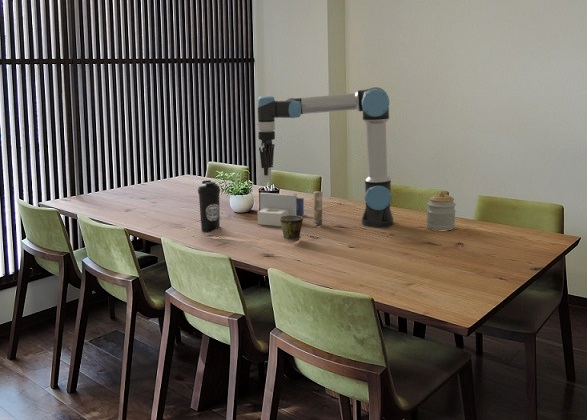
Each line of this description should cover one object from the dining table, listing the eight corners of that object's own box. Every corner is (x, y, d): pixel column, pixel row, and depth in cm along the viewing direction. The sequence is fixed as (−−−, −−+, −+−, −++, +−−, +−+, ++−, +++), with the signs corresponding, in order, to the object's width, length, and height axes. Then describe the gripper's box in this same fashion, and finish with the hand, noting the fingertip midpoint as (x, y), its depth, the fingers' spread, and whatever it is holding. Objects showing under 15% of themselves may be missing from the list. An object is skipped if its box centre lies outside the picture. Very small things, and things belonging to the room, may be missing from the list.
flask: (304, 214, 357) (304, 194, 354) (301, 216, 354) (301, 195, 352) (288, 213, 361) (288, 192, 359) (286, 214, 359) (285, 193, 356)
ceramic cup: (281, 236, 316) (281, 215, 314) (303, 236, 315) (303, 215, 313) (278, 244, 304) (278, 222, 301) (301, 244, 303) (301, 222, 300)
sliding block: (288, 221, 338) (288, 209, 337) (281, 226, 329) (281, 213, 328) (265, 219, 343) (265, 207, 341) (257, 224, 333) (257, 211, 332)
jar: (421, 229, 326) (422, 191, 322) (434, 223, 336) (435, 187, 332) (447, 233, 318) (448, 195, 314) (459, 227, 328) (461, 190, 324)
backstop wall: (296, 223, 340) (296, 194, 337) (278, 235, 319) (278, 204, 316) (262, 220, 346) (261, 192, 343) (242, 231, 325) (241, 202, 322)
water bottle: (204, 233, 323) (202, 184, 318) (196, 228, 332) (194, 180, 327) (224, 230, 328) (223, 182, 322) (216, 226, 336) (214, 178, 331)
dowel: (323, 224, 337) (323, 191, 333) (320, 226, 333) (320, 193, 330) (315, 223, 338) (315, 191, 335) (312, 225, 335) (312, 192, 331)
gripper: (264, 128, 328) (265, 178, 333) (252, 132, 315) (254, 184, 320) (279, 129, 325) (280, 179, 331) (268, 132, 313) (269, 185, 318)
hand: (267, 181), depth 325 cm, fingers closed
